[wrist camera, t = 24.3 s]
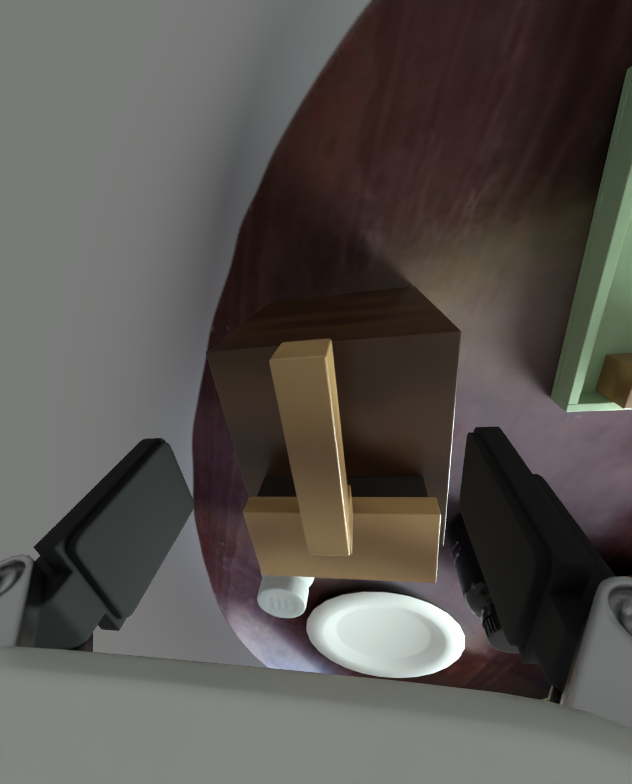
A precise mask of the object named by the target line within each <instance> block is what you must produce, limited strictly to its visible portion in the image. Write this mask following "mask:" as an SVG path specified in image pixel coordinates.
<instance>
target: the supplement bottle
mask: <svg viewBox="0 0 632 784" xmlns="http://www.w3.org/2000/svg"><path fill="white" fill-rule="evenodd" d="M446 534H447V539H448V543H449V546H450V550H451V553H452V557H453V560H454V564H455V568H456V571H457V575H458V578H459V582H460V585H461V589H462V592H463V596H464V599H465V602H466V604H467V606H468V607H469V608H470V609H471V611H472V612H473V613H475V614H476V615H477V616H479V617H480V618H481V623H482V626H483V628H484V630H485V634H486V637H487V640H488V642H489V644H490V645H492V647H494V648H495V649H498V650H500V651H504V652H508V653H519V651H518V648H517V646H511V645H510V644H509V643H508V641H507V639H506V637H505V634H504V632H503V629H502V626H501V623H500V620H499V618H498V615H497V612H496V609H495V607H494V604H493V601H492V598H491V595H490V593H489V590H488V587H487V584H486V581H485V579H484V576H483V573H482V570H481V568H480V565H479V562H478V559H477V556H476V554H475V551H474V548H473V545H472V542H471V540H470V537H469V534H468V531H467V529H466V526H465V523H464V520H463V517H462V515H459V516H457V517H455V518H454V519H453V520H452V521H451V522H450V523H449V525H448V527H447V531H446Z"/></svg>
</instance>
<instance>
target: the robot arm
mask: <svg viewBox="0 0 632 784" xmlns="http://www.w3.org/2000/svg"><path fill="white" fill-rule="evenodd" d="M459 505H460V511H461V515H462V517H463V520H464V523H465V526H466V529H467V531H468V534H469V537H470V540H471V542H472V545H473V548H474V551H475V554H476V556H477V559H478V562H479V565H480V568H481V570H482V573H483V576H484V579H485V581H486V584H487V587H488V590H489V593H490V595H491V598H492V601H493V604H494V607H495V609H496V612H497V615H498V618H499V620H500V623H501V626H502V629H503V632H504V634H505V637H506V639H507V641H508V643H509V644H510V645H511V646H517V648H518V651H519V653H520V656H521V659H522V661H523V663H530V664H540V666H541V669H542V671H543V674H544V676H545V679H546V680H547V681H548V682H549V683H551V684H552V687H551V690H550V693H549V696H548V699H547V701H543V700H538V699H532V698H526V697H520V696H514V695H509V694H503V693H496V692H488V691H480V690H471V689H463V688H455V687H446V686H438V685H430V684H421V683H413V682H403V681H393V680H383V679H373V678H363V677H353V676H343V675H333V674H323V673H313V672H303V671H293V670H283V669H272V668H261V667H250V666H240V665H230V664H219V663H207V662H197V661H186V660H176V659H164V658H155V657H154V658H153V657H143V656H131V655H120V654H108V653H97V652H93V631H94V629H95V628H96V626H97V625H99V627H100V628H101V629H105V630H118V631H119V630H120V628H121V627H122V625H123V623H124V621H125V620H126V618H127V617H129V616H130V615H131V614H132V613H133V612H134V611H135V609H136V607H137V605H138V604H139V602H140V600H141V599H142V597H143V595H144V593H145V591H146V590H147V588H148V586H149V585H150V583H151V581H152V579H153V578H154V576H155V574H156V573H157V571H158V569H159V568H160V566H161V564H162V562H163V560H164V559H165V557H166V556H167V554H168V552H169V550H170V548H171V547H172V545H173V543H174V542H175V540H176V538H177V537H178V535H179V533H180V531H181V530H182V528H183V526H184V525H185V523H186V521H187V519H188V517H189V516H190V514H191V512H192V510H193V507H194V501H193V498H192V496H191V494H190V491H189V489H188V487H187V484H186V482H185V480H184V477H183V475H182V472H181V470H180V468H179V465H178V463H177V460H176V458H175V456H174V453H173V451H172V449H171V447H170V445H169V444H168V443H166V442H165V440H163V439H161V438H154V439H143V440H142V441H140V442H139V443H138V444H137V445H136V446H135V447H134V448H133V449H132V450H131V451H130V452H129V453H128V454H127V455H126V456H125V457H124V458H123V459H122V460H121V461H120V462H119V463H118V464H117V465H116V466H115V467H114V468H113V469H112V470H111V471H110V472H109V473H108V474H107V475H106V476H105V477H104V478H103V479H102V480H101V481H100V482H99V483H98V484H97V485H96V486H95V487H94V488H93V489H92V490H91V491H90V492H89V493H88V494H87V495H86V496H85V497H84V498H83V499H82V500H81V501H80V502H79V503H78V504H77V505H76V506H75V507H74V508H73V509H72V510H71V511H70V512H69V513H68V514H67V515H66V516H65V517H64V518H63V519H62V520H61V521H60V522H59V523H58V524H57V525H56V526H55V527H53V528H52V529H51V530H50V531H49V532H48V534H47V535H45V536H44V537H43V538H42V539H41V540H40V541H39V542H38V543H37V544H36V545H35V546H34V548H35V549H36V551H37V552H38V553H39V554H40V557H39V558H38V559H37V560H36V561H34V560H33V559H32V558H31V557H30V556H29V555H23V554H22V555H17V556H12V557H10V558H7V559H4V560H2V561H0V784H632V578H631V577H626V576H615V574H614V573H613V572H612V570H611V569H610V568H609V566H608V565H607V564H606V562H605V561H604V559H603V558H602V557H601V555H600V554H599V553H598V551H597V550H596V549H595V547H594V546H593V545H592V543H591V542H590V540H589V539H588V538H587V536H586V535H585V534H584V532H583V531H582V530H581V528H580V527H579V526H578V524H577V523H576V521H575V520H574V519H573V517H572V516H571V515H570V513H569V512H568V511H567V509H566V508H565V507H564V505H563V504H562V502H561V501H560V500H559V498H558V497H557V496H556V494H555V493H554V492H553V490H552V489H551V488H550V486H549V485H548V483H547V482H546V481H545V480H544V479H543V478H542V477H541V476H540V475H538V474H532V473H531V471H530V470H529V468H528V467H527V465H526V464H525V463H524V461H523V460H522V458H521V457H520V455H519V454H518V453H517V451H516V450H515V448H514V447H513V446H512V444H511V443H510V441H509V440H508V438H507V437H506V436H505V434H504V433H503V431H502V430H501V429H500V428H499V427H476V428H475V430H474V433H468V435H467V441H466V449H465V458H464V466H463V474H462V483H461V491H460V500H459Z"/></svg>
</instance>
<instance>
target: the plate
mask: <svg viewBox="0 0 632 784" xmlns="http://www.w3.org/2000/svg"><path fill="white" fill-rule="evenodd" d="M306 631H307V634H308V636H309V639H310V641H311V642H312V644H313V645H314V646H315V647H316V648H317V650H318V651H319V652H320V653H322V654H323V655H324V656H326V657H327V658H328V659H330V660H331V661H333V662H335V663H337V664H339V665H341V666H343V667H345V668H348V669H351V670H354V671H357V672H360V673H364V674H369V675H374V676H379V677H393V678H405V677H418V676H423V675H427V674H432V673H435V672H437V671H440V670H442V669H444V668H447V667H448V666H450V665H451V664H452V663H453V662H455V661H456V660H457V659H458V658H459V657H460V655H461V653H462V652H463V650H464V647H465V636H464V633H463V631H462V629H461V627H460V625H459V623H458V622H457V621H456V620H455V619H454V618H453V617H452V616H451V615H449V614H448V613H447V612H446V611H444V610H443V609H441V608H439V607H437V606H436V605H434V604H432V603H430V602H428V601H425V600H423V599H420V598H417V597H414V596H411V595H408V594H402V593H396V592H391V591H377V590H362V591H355V592H349V593H343V594H340V595H337V596H335V597H332V598H329V599H327V600H325V601H323V602H322V603H321V604H319V605H318V606H316V607H315V608H314V609H313V611H312V612H311V614H310V615H309V617H308V619H307V627H306Z"/></svg>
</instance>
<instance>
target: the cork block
mask: <svg viewBox="0 0 632 784" xmlns="http://www.w3.org/2000/svg"><path fill="white" fill-rule="evenodd" d="M595 390H596V391H597V392H599V393H601V394H602V395H604V396H605V397H607V398H608V399H610V400H611V401H613V402H614V403H616V404H617V405H619V406H620V407H622V408H623V409H632V353H620V354H606V356H605V359H604V363H603V366H602V369H601V373H600V376H599V379H598V383H597V386H596V389H595Z"/></svg>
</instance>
